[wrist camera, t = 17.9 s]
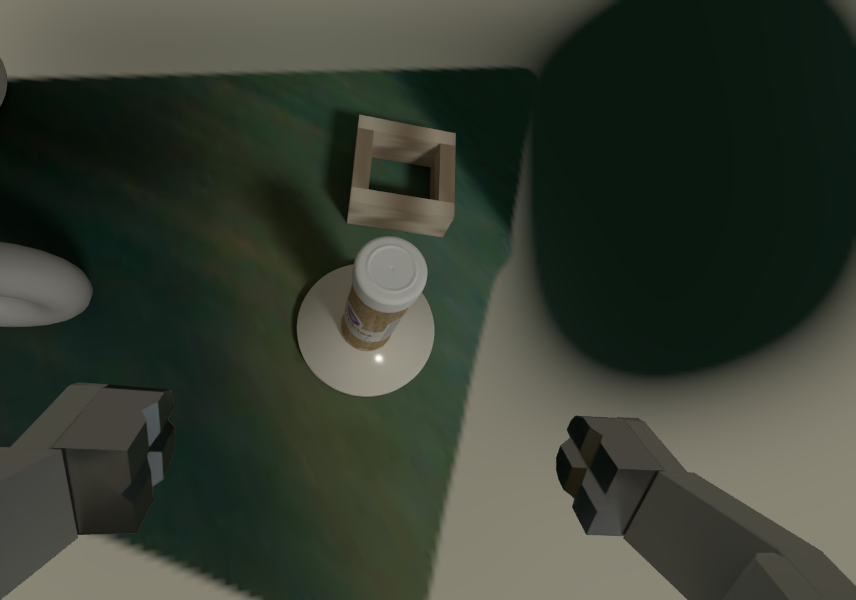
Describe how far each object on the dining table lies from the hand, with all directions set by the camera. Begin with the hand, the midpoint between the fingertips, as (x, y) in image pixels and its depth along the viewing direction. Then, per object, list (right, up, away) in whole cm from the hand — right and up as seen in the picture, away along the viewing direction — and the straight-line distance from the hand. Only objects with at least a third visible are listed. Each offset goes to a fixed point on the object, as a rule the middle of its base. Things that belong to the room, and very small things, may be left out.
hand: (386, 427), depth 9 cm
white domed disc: (-5, 0, +31) cm, 31 cm away
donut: (-29, +2, +25) cm, 39 cm away
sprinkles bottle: (-5, 0, +30) cm, 31 cm away
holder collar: (-2, +14, +36) cm, 39 cm away
